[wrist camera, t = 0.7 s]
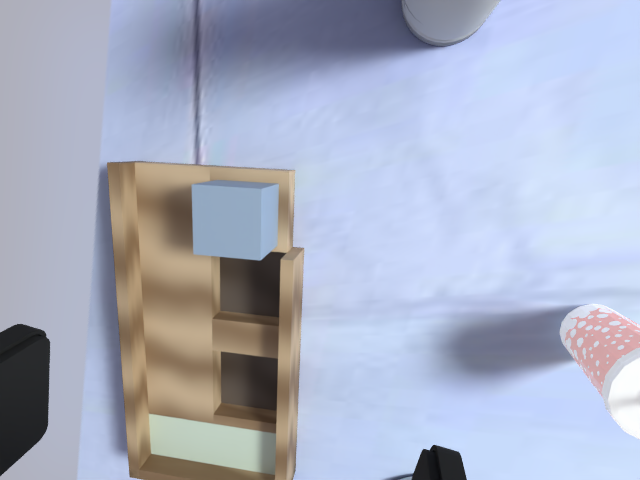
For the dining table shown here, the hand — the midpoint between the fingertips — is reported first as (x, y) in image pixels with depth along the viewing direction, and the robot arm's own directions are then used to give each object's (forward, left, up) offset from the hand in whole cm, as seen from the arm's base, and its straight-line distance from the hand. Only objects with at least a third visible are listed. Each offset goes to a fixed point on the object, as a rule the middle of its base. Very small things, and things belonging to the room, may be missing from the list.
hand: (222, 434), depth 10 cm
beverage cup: (-13, -17, -25) cm, 33 cm away
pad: (-16, +17, -25) cm, 34 cm away
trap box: (-5, +13, -25) cm, 28 cm away
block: (+4, +6, -23) cm, 24 cm away
